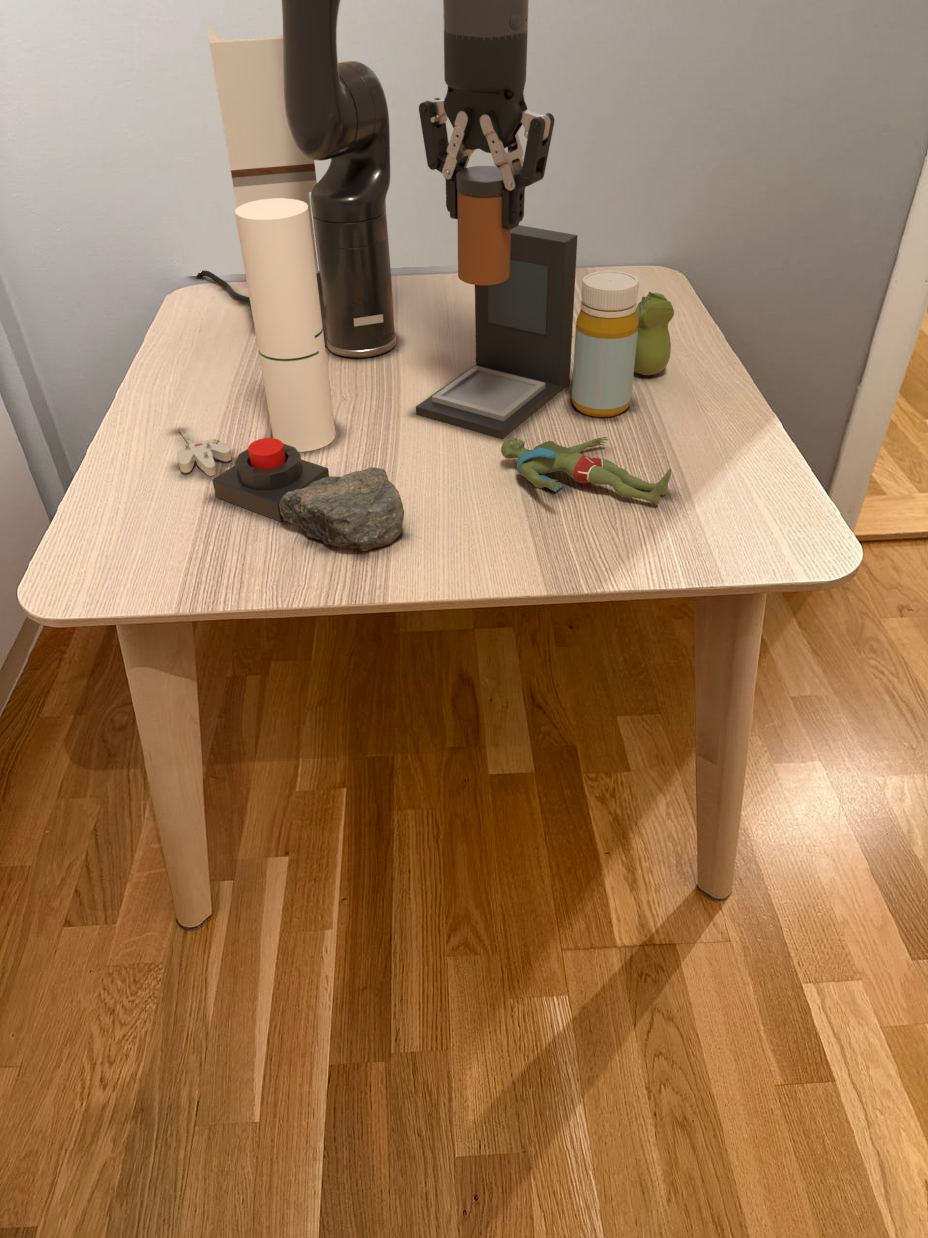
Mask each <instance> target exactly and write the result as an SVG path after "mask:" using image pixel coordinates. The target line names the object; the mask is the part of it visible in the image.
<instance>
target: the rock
mask: <svg viewBox="0 0 928 1238" xmlns="http://www.w3.org/2000/svg"><path fill="white" fill-rule="evenodd" d="M386 471H387V470H386V469H384V468H378V467H375V466H371V467H367V468H365V469H362V470H357V471H352V472H349V473H347V474H344V475H342V476H329V477H324V478H322V479H320V480H317V481H314V482H312V483H311V484H310V485H308V486H307V487H306V488H302V489H295V490H293V491H290V492H287V493H286V494H285V495H284V496H283V497H282V499H281V501H280V504H279V506H280V512H281V515H282V517H283V518H284V520H283V521H286V522H288V523H290V524H293V525H295V526H299V527H300V528H301V529H302V530H303V531H304V532H305V535H306V536H307V537H309V538H312V539H315V540H319V541H322V543H324V544H325V545H330V546H334V547H338V548H347V549H359V551H361V552H362V551H363V552H366V551H370V550H372V549H375V548H381V547H384V546H388V545H390V544H392V543H393V542H394V541H395V540H397V538H398V537H399V536H400V535H401V534H402V532H403V524H404V520H405V519H404V518H405V509H404V505H403V500H402V497H401V495H400V492H399V490H398V489H397V487H396V486H395V484H393V482H391V481H390V480H389V477H388V474H387V472H386Z"/></svg>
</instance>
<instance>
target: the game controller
mask: <svg viewBox="0 0 928 1238" xmlns="http://www.w3.org/2000/svg"><path fill="white" fill-rule="evenodd" d="M177 432H178V433H180V432H181V434H182V436H183V438H184V440H186V441H190V442H191V443H188V442H186V443H185V444H184V445H183V446H182V447H180V448H179V449H178V450H177V451H176V458H177V463H178V466H179V469H180V471H181V472H182V473H185V474H187V473H190V472H191V471H192V470H193V467H194V465H195V462H196V465H197V466H198V467H199V469H200V470H201V471H203V473H205V475H207V476H208V477H213V476H215V475H216V474H217V469H216V462H215V459H216V460H219V461H222V462H229V461H232V452H231V448H230V446H229V445H228V444H226V442H225V441H223V440H221V439H218V438H209V439H204V440H199V441H194V442H193V440H192V439H191V438H190V437H186V435H185V433H184V432H183V430H182V429H181V428H177Z"/></svg>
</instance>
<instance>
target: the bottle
mask: <svg viewBox="0 0 928 1238" xmlns="http://www.w3.org/2000/svg"><path fill="white" fill-rule="evenodd" d="M639 285H640V282H639V279H638V277H636V276H635V275H634V274H631V273H628V272H625V271H619V270H599V271H594V272H591V273H588V274H586V275H585V276H584V277H583V278H582V281H581V300H580V311H579V313H578V316H577V318H576V323H575V331H574V332H575V334H574V335H575V336H574V350H573V351H574V352H573V367H572V368H573V369H572V384H571V385H572V386H571V402H572V405H573V406H574V407H575V408H576V409H577V410H578V411H579V412H580V413H581V414H584V415H586V416H591V417H595V418H612V417H615V416H618V415H620V414H622V413H623V412H625V411H626V410H627V409H628V408H629V407H630V406H631V400H632V394H633V384H634V383H633V382H634V374H635V371H634V365H635V355H636V345H637V336H638V323H639V321H638V317H637V314H636V308H637V305H638V303H637V301H638V297H639Z"/></svg>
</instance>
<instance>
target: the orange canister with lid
mask: <svg viewBox="0 0 928 1238" xmlns="http://www.w3.org/2000/svg"><path fill="white" fill-rule="evenodd" d="M456 189H457V206H458V219H457V277H458V280H461V281H462V282H463V283H465V284H469V285H474V286H475V285H495V284H499V283H502V282H505V281H506V280H508V279H509V277H510V247H511V230H508V229H504V228H503V227H502V214H503V190H504V189H506V188H505V186H504V182H503V179H502V176H501V173H500V170H499V168H498V167H497V166H496V165H475V166H474V165H473V166H469V167H468V166H467V167H466V168H464V169H461V170H459V171H458V172H457V174H456Z"/></svg>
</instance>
